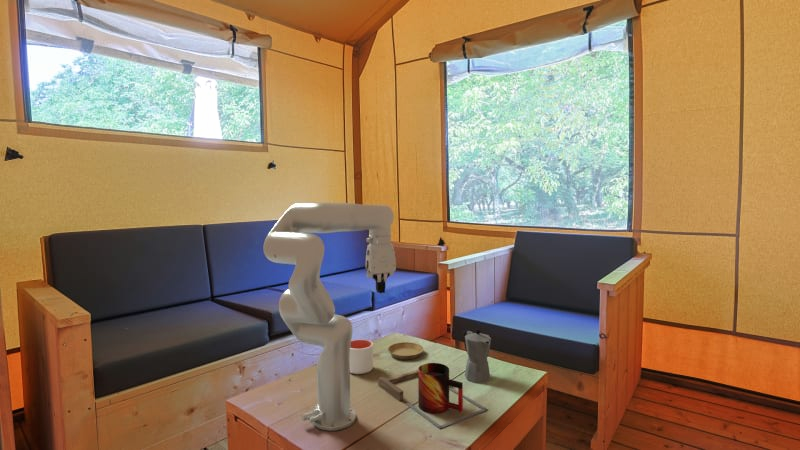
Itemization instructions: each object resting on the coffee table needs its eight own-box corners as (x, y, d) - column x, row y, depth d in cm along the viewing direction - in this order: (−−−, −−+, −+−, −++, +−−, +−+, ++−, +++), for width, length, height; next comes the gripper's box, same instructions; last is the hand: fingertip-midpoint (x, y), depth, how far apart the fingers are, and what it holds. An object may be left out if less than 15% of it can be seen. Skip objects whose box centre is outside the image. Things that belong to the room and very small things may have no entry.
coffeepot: (499, 382, 150) (500, 332, 149) (477, 387, 146) (478, 336, 145) (473, 366, 164) (473, 320, 163) (453, 371, 160) (453, 324, 159)
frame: (439, 429, 121) (439, 428, 121) (405, 404, 135) (405, 403, 135) (487, 410, 131) (487, 409, 131) (451, 388, 146) (451, 387, 146)
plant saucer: (430, 355, 175) (430, 349, 175) (402, 364, 167) (402, 358, 166) (408, 345, 187) (408, 339, 187) (380, 353, 178) (380, 347, 178)
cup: (378, 368, 163) (378, 342, 162) (362, 377, 155) (362, 351, 154) (357, 362, 169) (357, 337, 168) (341, 371, 160) (340, 345, 159)
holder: (399, 401, 137) (399, 392, 137) (378, 385, 148) (378, 377, 148) (447, 385, 148) (447, 377, 148) (424, 371, 159) (424, 364, 159)
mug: (462, 416, 128) (462, 377, 127) (416, 412, 130) (416, 374, 129) (462, 400, 138) (462, 364, 137) (420, 397, 140) (419, 362, 139)
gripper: (366, 243, 141) (367, 297, 143) (403, 240, 149) (404, 291, 151) (355, 240, 148) (356, 293, 149) (392, 238, 156) (393, 287, 157)
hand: (380, 292), depth 150 cm, fingers closed
